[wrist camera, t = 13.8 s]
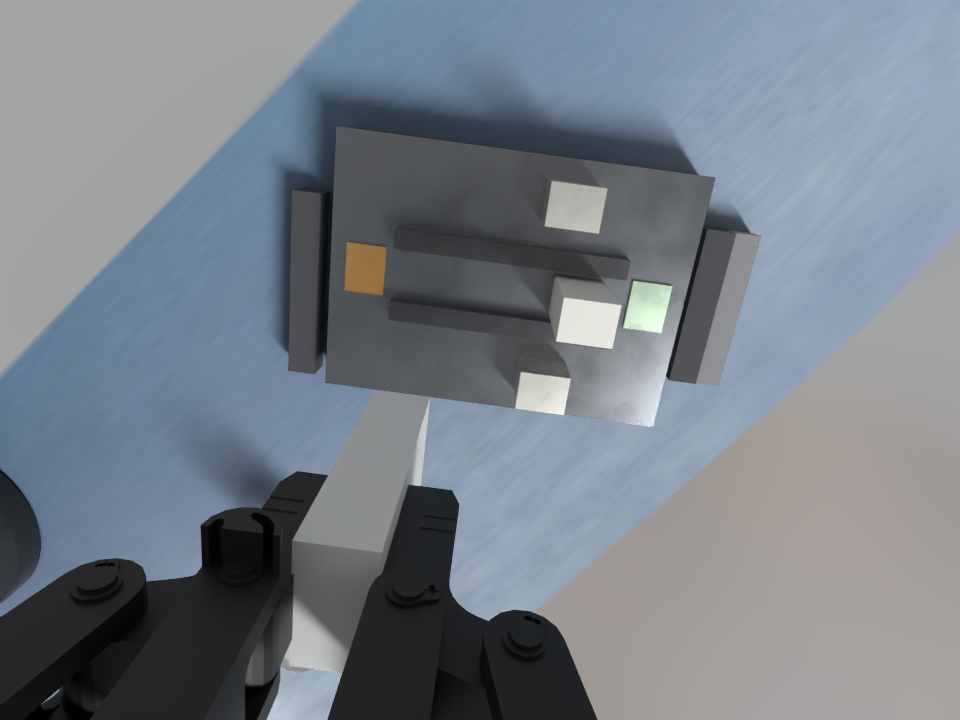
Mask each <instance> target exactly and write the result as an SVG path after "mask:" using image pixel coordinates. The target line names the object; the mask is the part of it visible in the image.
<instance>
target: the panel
mask: <svg viewBox="0 0 960 720" xmlns="http://www.w3.org/2000/svg"><path fill="white" fill-rule="evenodd" d="M714 182H715V177H708V176H701V175H693V174H686V173H679V172H671V171H664V170H656V169H649V168H642V167H634V166H627V165H620V164H612V163H605V162H598V161H590V160H583V159H576V158H568V157H561V156H553V155H546V154H539V153H531V152H524V151H517V150H509V149H502V148H495V147H487V146H480V145H473V144H465V143H458V142H450V141H443V140H436V139H428V138H421V137H414V136H406V135H399V134H392V133H384V132H377V131H370V130H362V129H355V128H348V127H340V126H336V144H335V167H334V191H333V215H332V238H331V262H330V285H329V309H328V332H327V356H326V379H325V383H331V384H339V385H346V386H354V387H361V388H368V389H376V390H383V391H391V392H398V393H405V394H413V395H420V396H428V397H435V398H443V399H450V400H457V401H465V402H472V403H480V404H487V405H495V406H502V407H509V408H515V409H522V410H530V411H537V412H545V413H552V414H560V415H569V416H576V417H584V418H591V419H598V420H606V421H613V422H621V423H628V424H635V425H643V426H650V427H653V424H654V420H655V416H656V412H657V409H658V405H659V401H660V397H661V393H662V389H663V385H664V381H665V377H666V373H667V369H668V365H669V361H670V357H671V353H672V349H673V345H674V341H675V337H676V333H677V329H678V325H679V321H680V317H681V313H682V309H683V305H684V301H685V297H686V293H687V289H688V285H689V281H690V277H691V273H692V269H693V265H694V261H695V257H696V253H697V249H698V245H699V241H700V237H701V233H702V229H703V225H704V221H705V217H706V214H707V210H708V206H709V202H710V198H711V194H712V190H713V186H714ZM555 275H559V276H566V277H574V278H581V279H588V280H596V281H603V282H604V283H605V284H606V286H607V287H608V288H609V289H610V291H611V292H612V293H613V295H614V296H615V297H616V299H617V300H618V301H619V303H620V304H621V305H622V306H621V311H620V315H619V320H618V325H617V329H616V334H615V339H614V343H613V348H612V349H608V348H600V347H593V346H586V345H578V344H571V343H563V342H556V339H555V336H554V332H553V328H552V324H551V321H550V317H549V313H548V312H549V306H550V300H551V295H552V289H553V283H554V277H555Z"/></svg>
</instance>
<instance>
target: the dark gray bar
mask: <svg viewBox="0 0 960 720" xmlns="http://www.w3.org/2000/svg"><path fill="white" fill-rule="evenodd" d="M328 211H329V192H326V191H318V190H311V189H304V188H300V189H294V190H292V214H291V265H290V316H289V367H288V371H295V372H303V373H310V374H315V373H316V372H317V371H318V370H319V368H320V367H321V366H322V360H323V335H324V310H325V285H326V260H327V236H328Z"/></svg>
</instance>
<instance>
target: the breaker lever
mask: <svg viewBox="0 0 960 720" xmlns="http://www.w3.org/2000/svg"><path fill="white" fill-rule="evenodd" d="M621 306H622V305H621V304H620V303H619V301H618V300H617V299H616V297H615V296H614V295H613V293H612V292H611V291H610V289H609V288H608V287H607V286H606V284H605V283H604V282H603V281H596V280H588V279H581V278H574V277H566V276H559V275H555V277H554V283H553V289H552V295H551V300H550V306H549V312H548V313H549V317H550V321H551V324H552V328H553V332H554V336H555V339H556V342H563V343H571V344H578V345H586V346H593V347H600V348H608V349H612V348H613V343H614V339H615V334H616V329H617V325H618V320H619V315H620V311H621Z"/></svg>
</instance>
